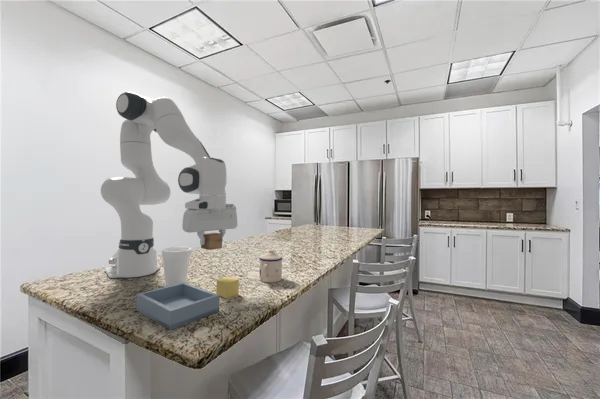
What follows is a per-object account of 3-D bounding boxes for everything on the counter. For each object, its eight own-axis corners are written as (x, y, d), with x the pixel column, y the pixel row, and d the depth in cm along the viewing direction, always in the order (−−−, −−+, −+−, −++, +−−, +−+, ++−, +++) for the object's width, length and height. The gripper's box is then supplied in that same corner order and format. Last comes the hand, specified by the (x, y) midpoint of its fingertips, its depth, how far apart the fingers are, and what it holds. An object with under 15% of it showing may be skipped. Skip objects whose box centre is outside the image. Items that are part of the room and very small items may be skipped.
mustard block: (216, 295, 88) (216, 279, 88) (228, 291, 92) (229, 276, 92) (226, 298, 85) (226, 282, 85) (238, 294, 89) (238, 279, 89)
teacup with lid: (263, 275, 112) (264, 247, 112) (284, 277, 110) (285, 248, 110) (252, 284, 100) (252, 252, 100) (275, 286, 98) (276, 254, 98)
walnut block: (200, 248, 94) (201, 233, 94) (213, 246, 98) (213, 232, 98) (209, 250, 91) (210, 235, 91) (221, 248, 95) (222, 233, 95)
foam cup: (179, 291, 91) (179, 252, 91) (155, 288, 93) (155, 250, 93) (195, 282, 100) (196, 247, 100) (173, 280, 102) (174, 246, 102)
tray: (136, 310, 75) (136, 294, 75) (183, 296, 86) (184, 282, 86) (170, 330, 64) (170, 311, 64) (219, 311, 75) (219, 295, 75)
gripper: (230, 203, 104) (229, 239, 104) (180, 203, 88) (179, 245, 88) (241, 204, 101) (240, 241, 101) (191, 204, 84) (190, 248, 84)
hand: (211, 243), depth 94 cm, fingers closed on walnut block, 5 cm apart
